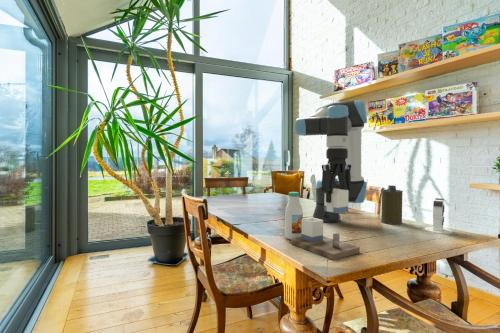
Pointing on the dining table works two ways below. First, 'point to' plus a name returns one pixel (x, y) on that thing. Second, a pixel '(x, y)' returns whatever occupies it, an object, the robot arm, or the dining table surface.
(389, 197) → the canister
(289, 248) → the dining table surface
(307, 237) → the seated sleeve
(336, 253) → the pin board
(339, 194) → the white sleeve
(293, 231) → the milk bottle
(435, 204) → the light grey upright piece
